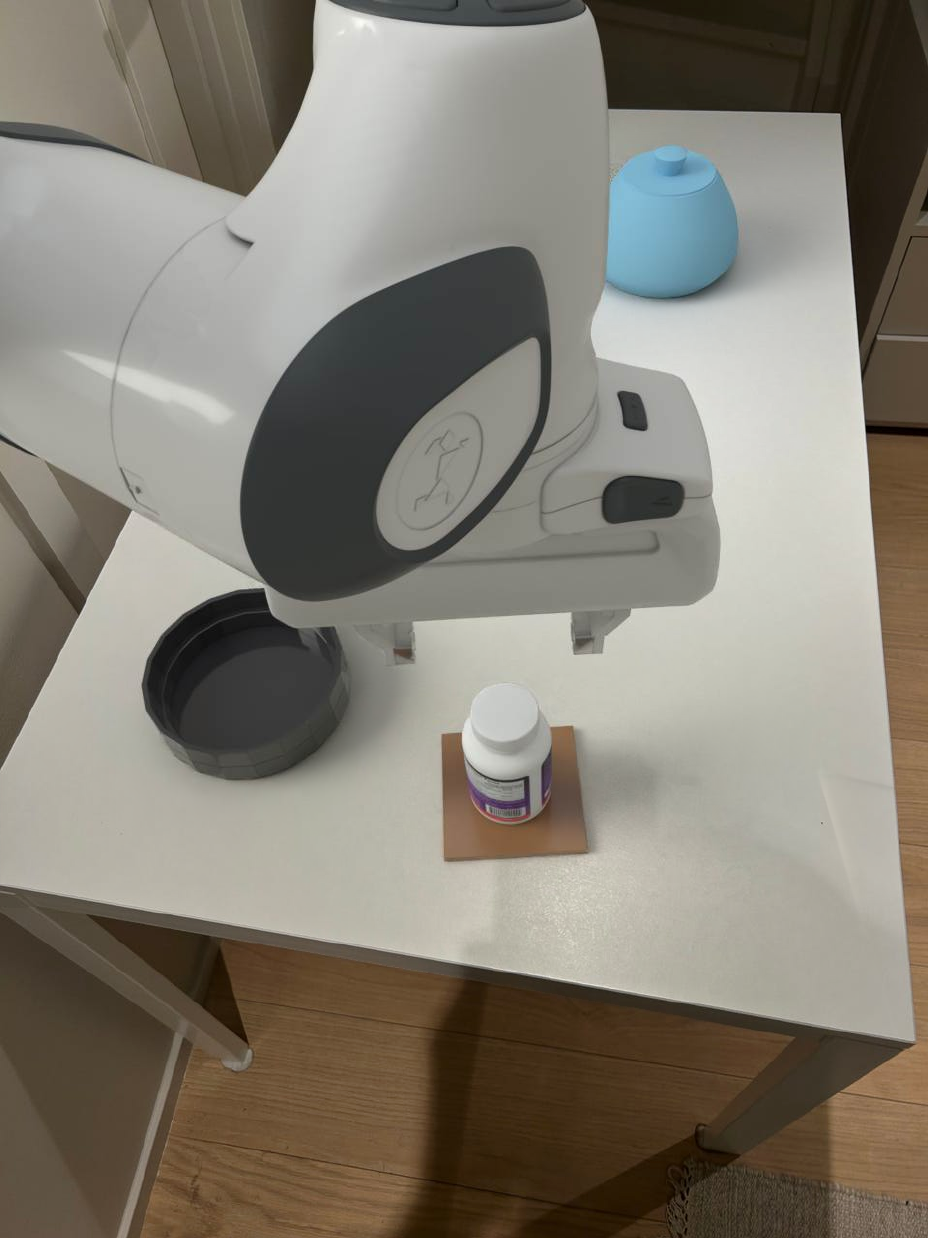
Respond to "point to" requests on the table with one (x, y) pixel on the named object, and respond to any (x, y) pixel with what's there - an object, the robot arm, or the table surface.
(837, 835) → the table surface
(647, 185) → the sugar bowl
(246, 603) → the pan
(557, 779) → the copper plate
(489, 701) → the pill bottle
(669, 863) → the table surface
